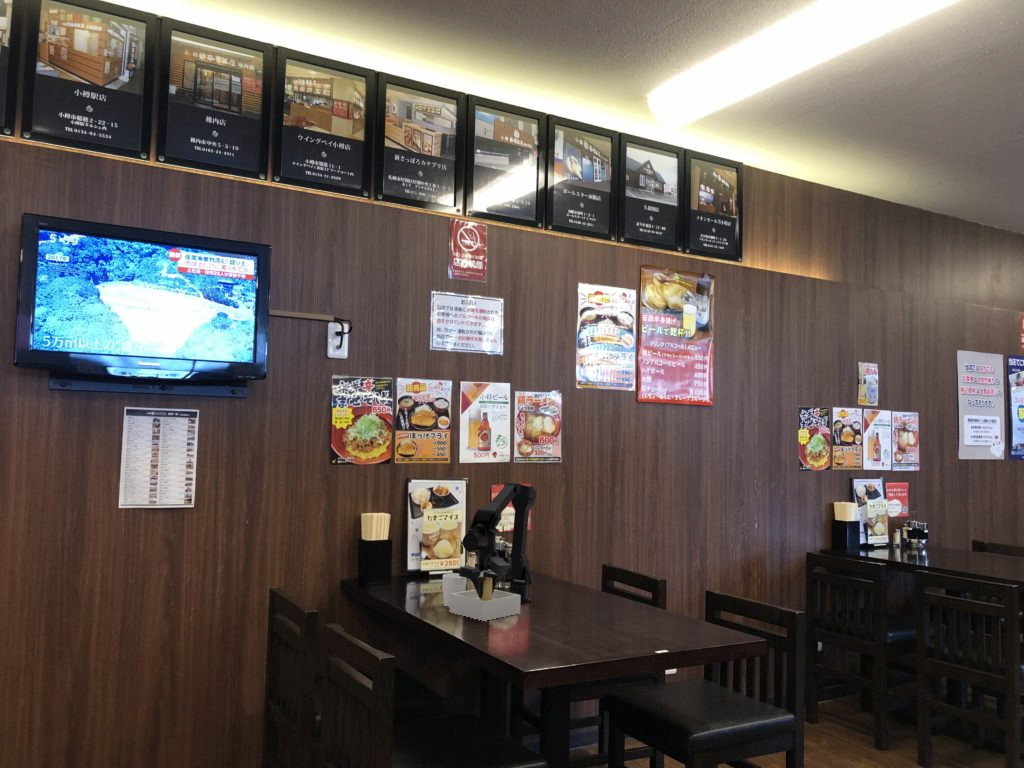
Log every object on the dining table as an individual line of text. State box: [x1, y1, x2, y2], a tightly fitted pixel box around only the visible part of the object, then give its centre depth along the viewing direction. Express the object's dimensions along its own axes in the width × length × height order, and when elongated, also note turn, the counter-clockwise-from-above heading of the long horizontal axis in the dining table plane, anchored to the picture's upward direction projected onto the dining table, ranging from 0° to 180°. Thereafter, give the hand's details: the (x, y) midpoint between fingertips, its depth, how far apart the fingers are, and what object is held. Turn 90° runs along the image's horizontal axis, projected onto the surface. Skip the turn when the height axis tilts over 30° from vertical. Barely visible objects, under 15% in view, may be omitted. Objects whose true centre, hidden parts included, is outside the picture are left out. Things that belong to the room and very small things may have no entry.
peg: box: [479, 576, 492, 601], centre depth 258 cm, size 4×4×8 cm
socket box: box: [449, 588, 521, 622], centre depth 258 cm, size 16×16×6 cm
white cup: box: [442, 572, 467, 608], centre depth 268 cm, size 8×8×10 cm
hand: (485, 597), depth 258 cm, fingers closed on peg, 4 cm apart
